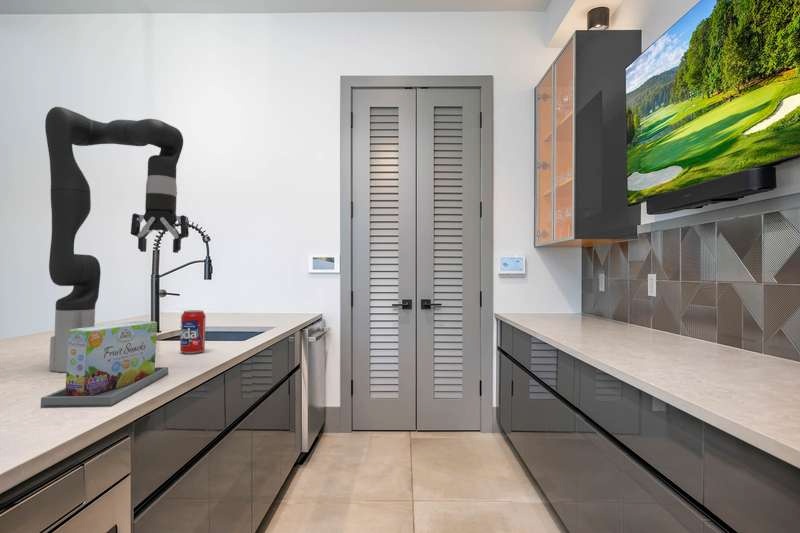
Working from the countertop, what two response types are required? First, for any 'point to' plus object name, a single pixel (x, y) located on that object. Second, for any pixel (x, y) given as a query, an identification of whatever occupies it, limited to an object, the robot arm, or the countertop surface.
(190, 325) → the soda can
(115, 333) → the snack box
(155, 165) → the robot arm
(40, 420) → the countertop surface
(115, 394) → the tray
